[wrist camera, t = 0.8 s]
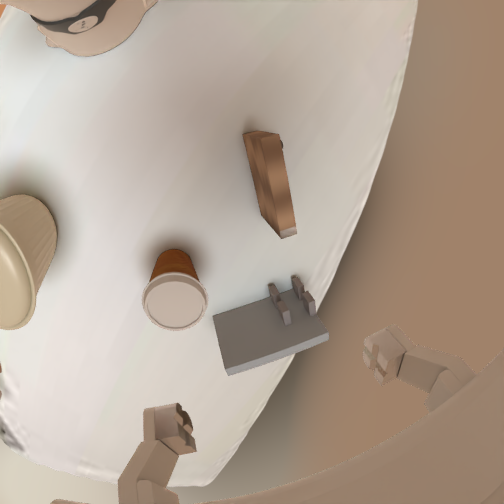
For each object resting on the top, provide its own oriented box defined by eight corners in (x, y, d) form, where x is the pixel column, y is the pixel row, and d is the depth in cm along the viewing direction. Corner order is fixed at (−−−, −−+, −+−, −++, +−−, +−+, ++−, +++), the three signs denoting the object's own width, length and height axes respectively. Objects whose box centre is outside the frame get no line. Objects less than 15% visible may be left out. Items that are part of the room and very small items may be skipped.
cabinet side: (207, 303, 52) (218, 357, 40) (295, 274, 54) (327, 318, 42) (215, 323, 55) (228, 375, 43) (298, 294, 57) (328, 339, 45)
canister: (37, 156, 32) (-44, 191, 14) (91, 243, 41) (48, 324, 23) (-18, 215, 32) (-83, 270, 14) (32, 287, 41) (-10, 365, 23)
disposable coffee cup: (211, 257, 48) (222, 297, 38) (183, 296, 50) (187, 341, 40) (164, 230, 44) (161, 266, 34) (137, 273, 46) (130, 316, 36)
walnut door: (242, 134, 40) (260, 138, 32) (265, 128, 41) (289, 131, 32) (261, 215, 47) (281, 239, 38) (282, 208, 47) (306, 230, 39)
